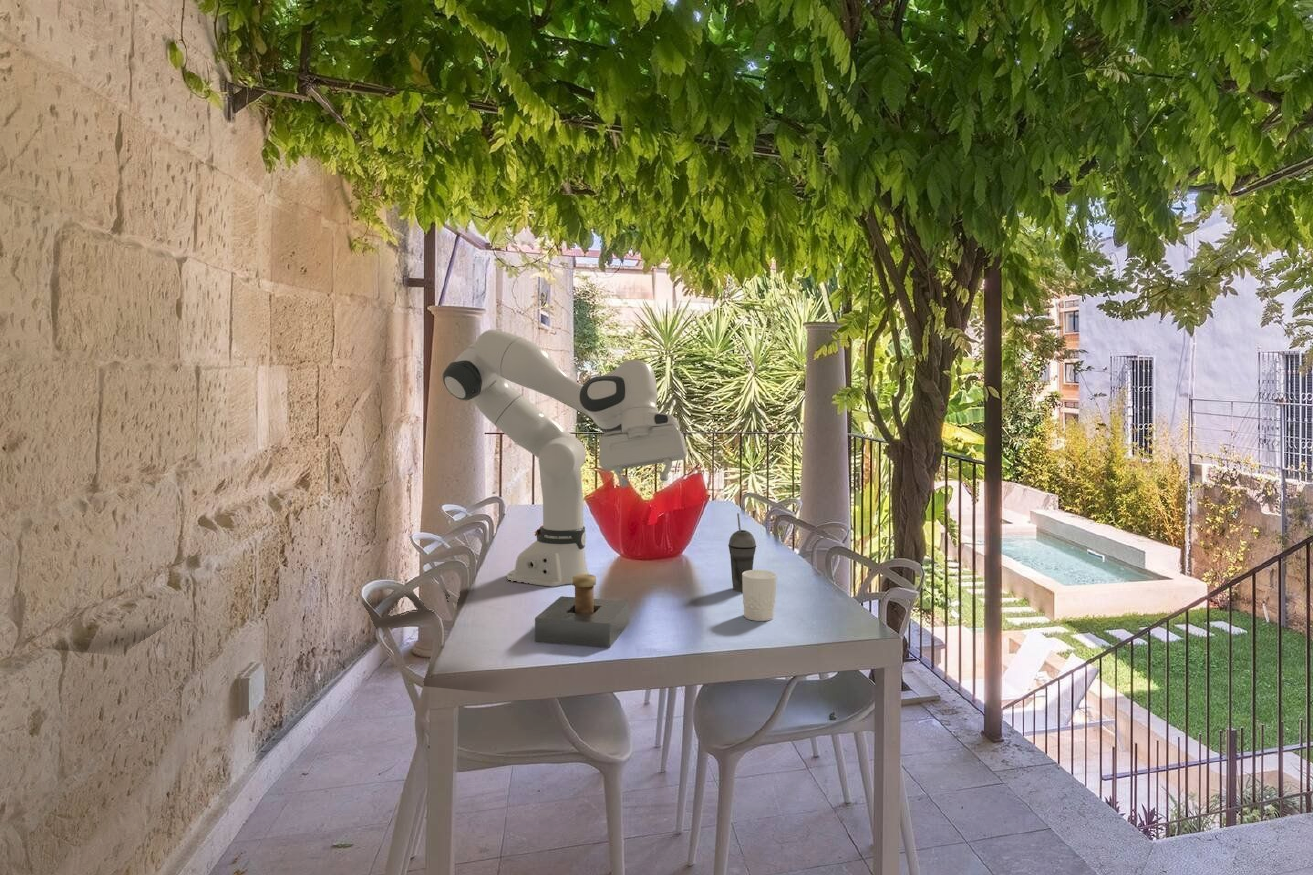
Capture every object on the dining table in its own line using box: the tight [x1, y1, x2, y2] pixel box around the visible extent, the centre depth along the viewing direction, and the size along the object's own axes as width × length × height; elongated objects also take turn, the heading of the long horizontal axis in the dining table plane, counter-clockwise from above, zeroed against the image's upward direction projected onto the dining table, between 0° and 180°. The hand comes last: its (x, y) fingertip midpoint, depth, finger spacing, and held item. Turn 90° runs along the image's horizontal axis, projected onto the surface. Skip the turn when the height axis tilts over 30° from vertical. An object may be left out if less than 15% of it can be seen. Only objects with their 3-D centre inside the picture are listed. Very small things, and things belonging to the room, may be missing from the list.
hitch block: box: [534, 596, 630, 649], centre depth 156 cm, size 16×16×5 cm
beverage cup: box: [727, 513, 757, 593], centre depth 189 cm, size 7×7×20 cm
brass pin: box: [572, 574, 597, 614], centre depth 156 cm, size 5×5×12 cm
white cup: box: [742, 569, 778, 622], centre depth 167 cm, size 8×8×10 cm
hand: (644, 483), depth 163 cm, fingers open, 8 cm apart
